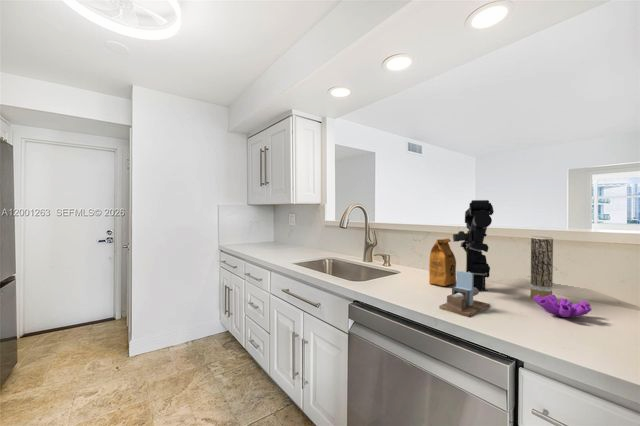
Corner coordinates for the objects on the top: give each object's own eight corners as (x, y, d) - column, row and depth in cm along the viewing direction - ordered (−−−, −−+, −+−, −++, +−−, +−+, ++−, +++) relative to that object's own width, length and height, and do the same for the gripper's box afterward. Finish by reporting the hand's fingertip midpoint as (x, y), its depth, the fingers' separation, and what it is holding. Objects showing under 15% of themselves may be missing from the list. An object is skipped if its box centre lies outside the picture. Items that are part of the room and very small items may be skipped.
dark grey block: (453, 301, 99) (454, 287, 99) (469, 305, 95) (469, 290, 95) (451, 302, 98) (451, 287, 98) (467, 306, 94) (467, 291, 94)
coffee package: (459, 284, 130) (460, 238, 130) (445, 288, 123) (445, 240, 123) (440, 280, 139) (440, 237, 139) (425, 283, 132) (426, 238, 132)
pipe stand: (461, 299, 108) (461, 284, 108) (489, 306, 100) (489, 290, 100) (439, 308, 97) (439, 291, 97) (468, 317, 90) (468, 298, 90)
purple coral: (589, 335, 85) (585, 314, 81) (531, 319, 97) (525, 300, 94) (596, 307, 90) (592, 287, 87) (540, 295, 102) (535, 277, 99)
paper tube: (556, 302, 105) (557, 238, 105) (536, 301, 106) (537, 237, 106) (545, 297, 112) (546, 236, 112) (526, 296, 113) (527, 236, 113)
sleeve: (457, 300, 101) (458, 270, 101) (473, 304, 97) (473, 273, 97) (453, 301, 99) (454, 271, 99) (469, 305, 95) (469, 274, 95)
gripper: (453, 225, 124) (443, 258, 123) (462, 222, 106) (451, 261, 106) (480, 232, 120) (470, 266, 120) (493, 230, 103) (482, 270, 102)
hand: (468, 266), depth 112 cm, fingers closed
